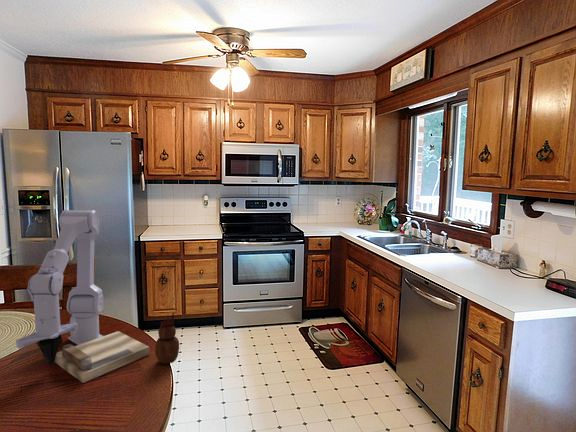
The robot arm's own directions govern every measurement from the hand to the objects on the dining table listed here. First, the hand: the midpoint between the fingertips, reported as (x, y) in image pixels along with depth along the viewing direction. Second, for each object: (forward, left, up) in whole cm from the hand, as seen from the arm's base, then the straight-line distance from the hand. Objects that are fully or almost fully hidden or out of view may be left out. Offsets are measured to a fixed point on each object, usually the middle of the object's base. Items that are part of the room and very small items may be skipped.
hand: (50, 363), depth 102 cm
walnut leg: (+3, +6, -1) cm, 6 cm away
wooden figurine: (+19, +25, -4) cm, 31 cm away
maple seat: (+2, +14, -3) cm, 14 cm away
